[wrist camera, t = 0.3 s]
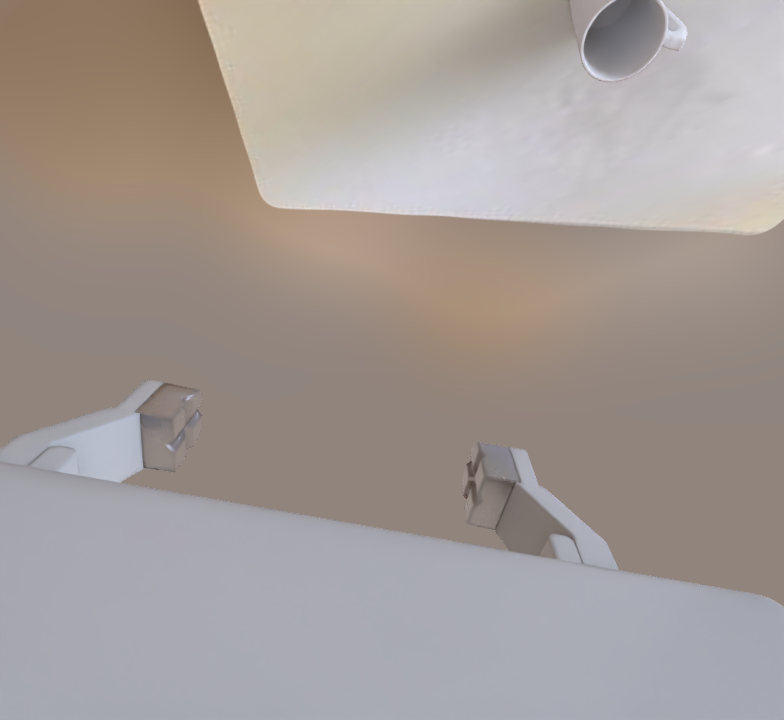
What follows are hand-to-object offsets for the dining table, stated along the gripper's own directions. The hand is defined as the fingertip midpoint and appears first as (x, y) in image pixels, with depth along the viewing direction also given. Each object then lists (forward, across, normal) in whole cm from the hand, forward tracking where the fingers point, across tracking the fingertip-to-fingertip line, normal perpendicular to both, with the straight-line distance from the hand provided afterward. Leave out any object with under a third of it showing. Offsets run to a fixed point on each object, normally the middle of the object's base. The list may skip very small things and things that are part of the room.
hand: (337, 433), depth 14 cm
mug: (+48, -18, -24) cm, 56 cm away
